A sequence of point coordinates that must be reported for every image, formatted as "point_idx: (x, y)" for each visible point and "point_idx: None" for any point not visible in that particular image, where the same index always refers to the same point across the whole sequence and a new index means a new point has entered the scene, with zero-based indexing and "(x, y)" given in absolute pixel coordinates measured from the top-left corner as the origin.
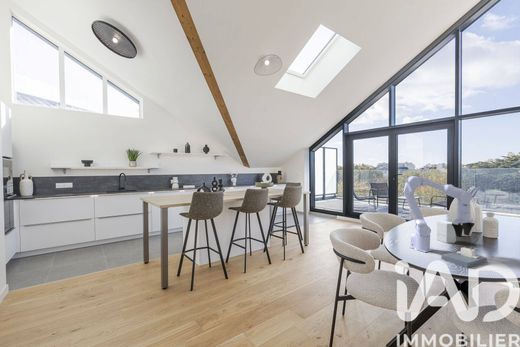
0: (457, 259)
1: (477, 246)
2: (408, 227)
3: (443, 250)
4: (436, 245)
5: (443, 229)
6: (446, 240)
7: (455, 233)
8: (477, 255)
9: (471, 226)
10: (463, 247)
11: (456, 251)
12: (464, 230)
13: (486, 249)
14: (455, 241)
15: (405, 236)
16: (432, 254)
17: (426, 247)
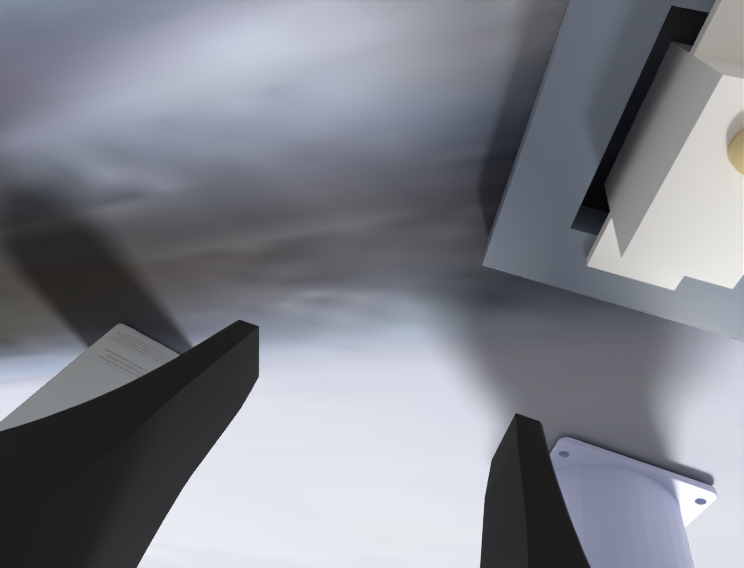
0: None
1: (33, 171)
2: None
3: (467, 370)
4: (351, 420)
5: None
6: None
7: (51, 385)
8: (580, 39)
9: (83, 466)
10: (643, 262)
11: (582, 290)
12: (210, 440)
13: (30, 82)
14: (115, 329)
15: (318, 561)
16: (733, 434)
17: (670, 518)
